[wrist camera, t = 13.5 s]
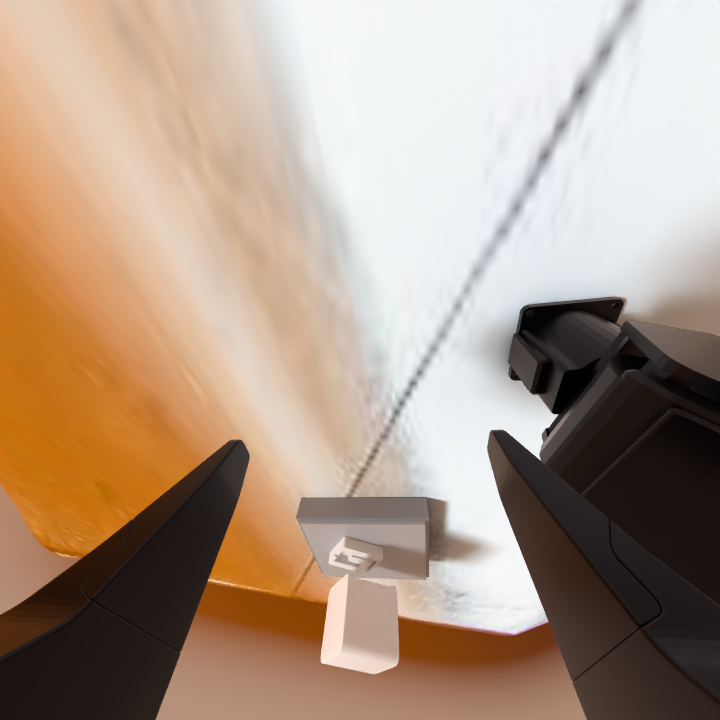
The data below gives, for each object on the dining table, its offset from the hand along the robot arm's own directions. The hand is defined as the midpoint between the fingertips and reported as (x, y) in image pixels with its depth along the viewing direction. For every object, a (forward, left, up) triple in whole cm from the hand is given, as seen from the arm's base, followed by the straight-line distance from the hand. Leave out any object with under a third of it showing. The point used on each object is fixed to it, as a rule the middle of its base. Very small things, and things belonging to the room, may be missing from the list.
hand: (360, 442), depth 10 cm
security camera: (+5, +32, -10) cm, 34 cm away
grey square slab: (+4, +33, -13) cm, 36 cm away
